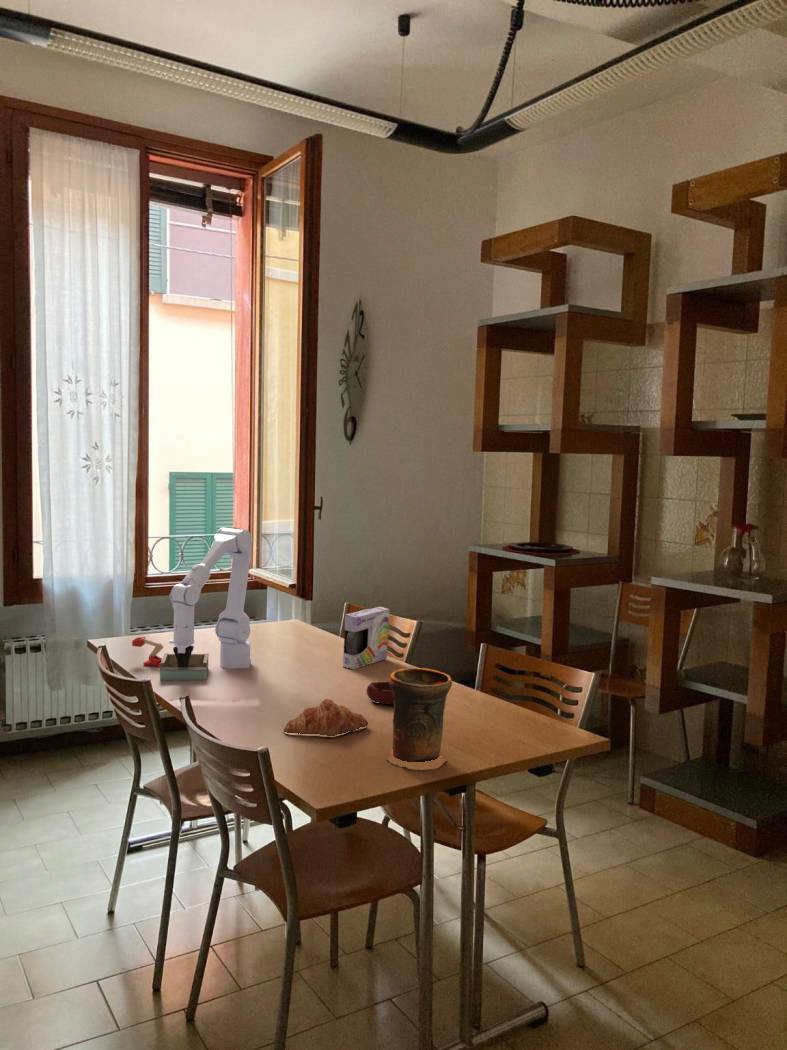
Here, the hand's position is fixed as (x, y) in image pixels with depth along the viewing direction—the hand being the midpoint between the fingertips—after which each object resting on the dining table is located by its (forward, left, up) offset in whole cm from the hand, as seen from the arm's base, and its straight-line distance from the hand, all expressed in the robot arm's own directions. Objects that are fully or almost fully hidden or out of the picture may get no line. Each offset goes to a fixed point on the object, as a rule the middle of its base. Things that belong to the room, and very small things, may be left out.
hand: (183, 671), depth 250 cm
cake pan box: (-56, -23, -4) cm, 61 cm away
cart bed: (0, -7, -4) cm, 8 cm away
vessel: (-58, +62, -4) cm, 84 cm away
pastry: (-38, +41, -4) cm, 56 cm away
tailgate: (0, -1, -3) cm, 3 cm away
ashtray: (-62, +17, -4) cm, 65 cm away
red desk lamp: (+10, -16, -4) cm, 19 cm away
